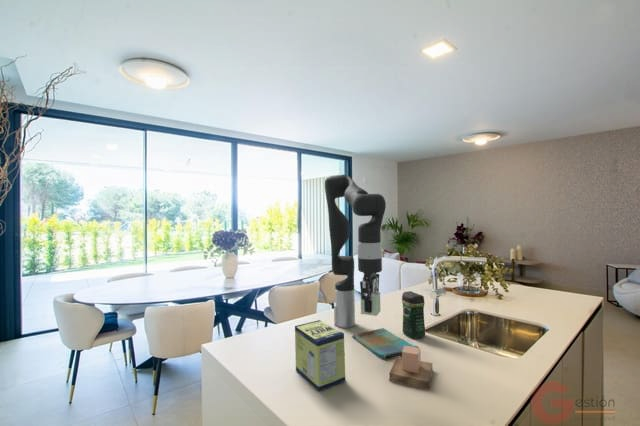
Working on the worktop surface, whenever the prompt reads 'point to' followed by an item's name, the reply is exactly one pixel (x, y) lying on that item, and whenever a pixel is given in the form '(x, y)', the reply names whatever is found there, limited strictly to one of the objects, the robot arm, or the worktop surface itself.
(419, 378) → the plinth
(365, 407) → the worktop surface
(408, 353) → the terracotta block
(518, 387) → the worktop surface
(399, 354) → the dish towel
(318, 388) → the protein box
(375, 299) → the sage block
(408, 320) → the coffee jar
